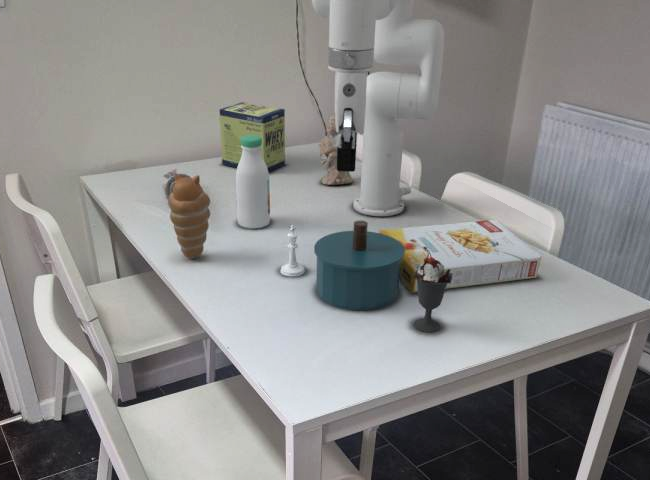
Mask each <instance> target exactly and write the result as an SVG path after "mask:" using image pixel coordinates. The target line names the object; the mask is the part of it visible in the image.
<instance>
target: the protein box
mask: <svg viewBox="0 0 650 480" xmlns="http://www.w3.org/2000/svg"><path fill="white" fill-rule="evenodd" d="M285 115H286V114H285V109H284V108H281V107H273V106H267V105H262V104H261V105H260V104H254V103H250V102H243V101H242V102H239V103H235V104H232V105H229V106H225V107H223V108H219V128H220V147H221V164H222V165H223V166H227V167H232V168H236V169H237V167H238V164H239V162H240V159H241V156H242V148H241V138H242V137H243V136H247V135H256V136H260V137H261V139H262V144H261V146H262V148H261V154H262V157H263V159H264V162H265V164H266V166H267V169H268V173H269V172H272V171H274V170H276V169H279V168H281V167H283V166H285V165H286V137H285V136H286V129H285V128H286V126H285V125H286V124H285V123H286V122H285V121H286V116H285Z"/></svg>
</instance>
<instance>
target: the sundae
mask: <svg viewBox="0 0 650 480" xmlns="http://www.w3.org/2000/svg"><path fill="white" fill-rule="evenodd" d="M423 248H424V249H425V250H426V249H427V247H423ZM427 250H428V249H427ZM427 250H426V251H427ZM427 252H429V250H428V251H427ZM429 254H430V252H429V253H428V256H429ZM428 256H427V258H425V259H424V263H423V264H422V265H421V266H420V267H419V269H418V270H417V271H416V272H414V278H415V279H416V280H417V283H418V292H417V299H418V303H419V305H420V306H421V307H422V308H423V309H425V312H424V316H423V317H422V318H417V319H416V320H414V322H413V323H412V324H413V327H414V328H415V330H417V331H419V332H422V333H435V332H437V331H439V330H440V329H441V327H442V325H441V323H440V322H439V321H438V320H436V319H433V318H432V313H433V310H435V309H437V308H438V307H440V306H441V304H442V301H443V298H444V295H445V292H446V289H445V288H446V285H447V283H451V280H452V274H451V273H450V269H449V270H447V271H445V270H444V266H443V264H442V263H441V262H439V261H437V260H435V259H434V258H432V257H431V254H430V257H431V258H428Z"/></svg>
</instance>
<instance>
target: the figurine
mask: <svg viewBox="0 0 650 480" xmlns="http://www.w3.org/2000/svg"><path fill="white" fill-rule="evenodd" d="M325 129H326V131H327V133H330V136H327V135H324V136H323V137H322V138H321V140H320V141H319V142H318V147H319V149H320V151H319V154H318V155H319V157H321V158H322V159H323V160H321V162H320V164H321V165H323V168H324V169H325V170H327V172H326V174H325V175H324V176H323V177H322V179H321V183H322V184H324V185H327V186H330V185H331V186H335V185H337V186H339V185H346V184H351V183H352V182H354V178H353V177H352V175H351V174H350V172H348V171H337V147H339V134H338V133H337V132H336V125H335V105H334V107H333V110H332V113H331V115H330V117H329V120H328V123H327V124H326V126H325Z"/></svg>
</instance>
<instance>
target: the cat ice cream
mask: <svg viewBox="0 0 650 480" xmlns="http://www.w3.org/2000/svg"><path fill="white" fill-rule="evenodd" d="M179 174H180V173H177V172H176V173H174V177H175V182H176V183H175V185H174V187H173V189H172V191H173V192H172V193H171V194H170V196H169V198H168V199H167V205H168V207H169V209H170V213H169V219H170V221H171V223H172V224H173V229H174V232H175V235H176V240H177V243H178V245H179V246H180V251H181V253H182V254H183V256H185V257H186V258H188V259H191V260H193V259H196V258H198V257H200V256H201V255H202V254H203V252H204V244H205V242H206V241H207V232H208V230H209V227H210V225H209V219H210V217H211V211H210V208H209V207H210V205H211V198H210V196H209V195H208V194H207V193H205V191H204V189H203V187H202V186H201V184H200V181H201V179H200V175H199V174H196V175H194V176H193V177H191V178H189V177H184V178H183V177H182V176H180V175H179Z"/></svg>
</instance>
